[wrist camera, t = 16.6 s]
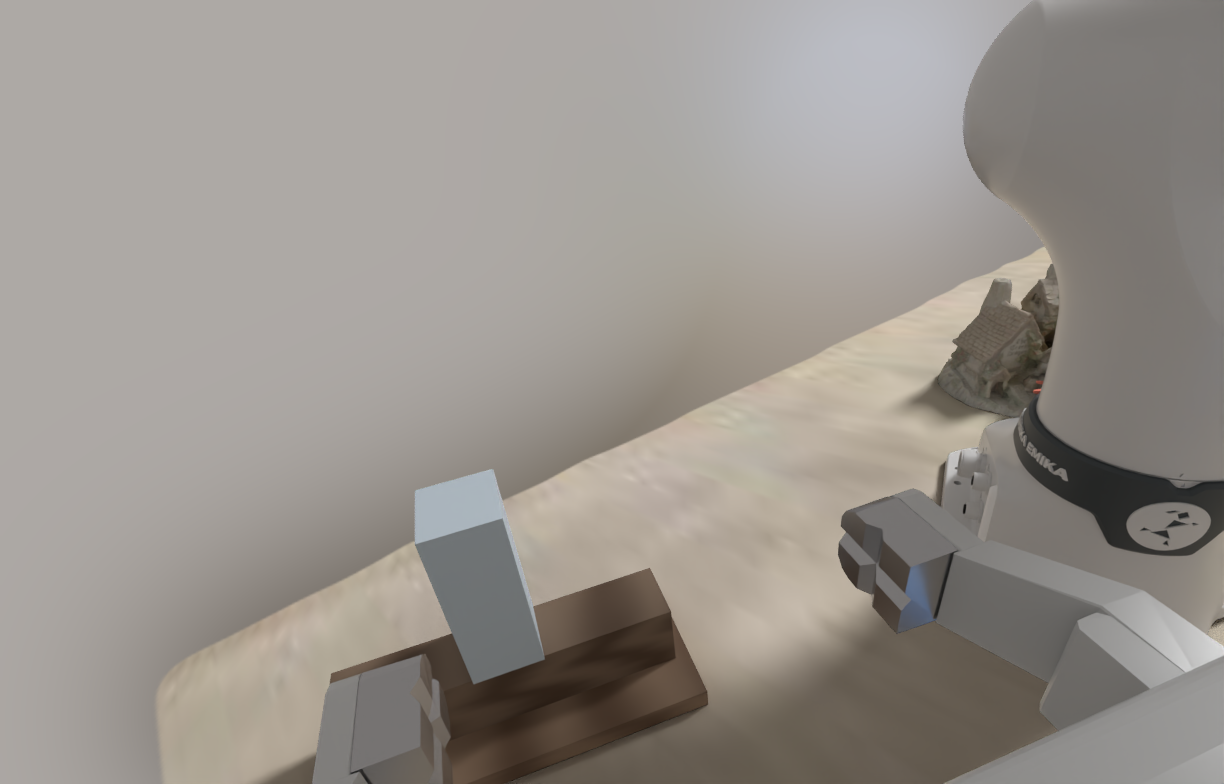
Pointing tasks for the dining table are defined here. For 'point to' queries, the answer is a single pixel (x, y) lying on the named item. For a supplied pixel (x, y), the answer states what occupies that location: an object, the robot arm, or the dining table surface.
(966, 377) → the ceramic cottage
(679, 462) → the dining table surface
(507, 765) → the stand
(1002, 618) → the robot arm
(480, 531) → the pillar
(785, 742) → the dining table surface
